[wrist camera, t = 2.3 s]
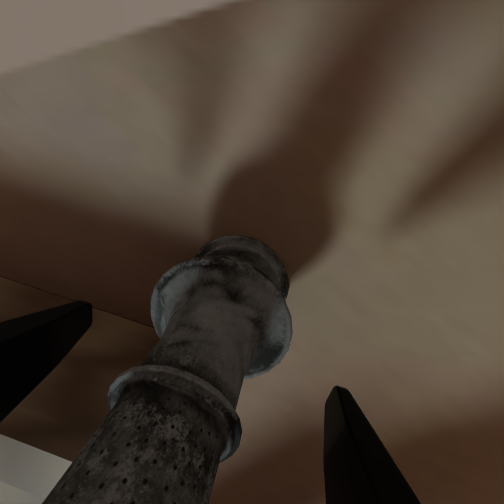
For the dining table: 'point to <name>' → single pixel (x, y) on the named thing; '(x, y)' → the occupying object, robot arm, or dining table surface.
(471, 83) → the dining table surface
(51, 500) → the grey chess piece
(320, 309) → the dining table surface
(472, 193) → the dining table surface
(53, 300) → the beige rectangular hollow block
